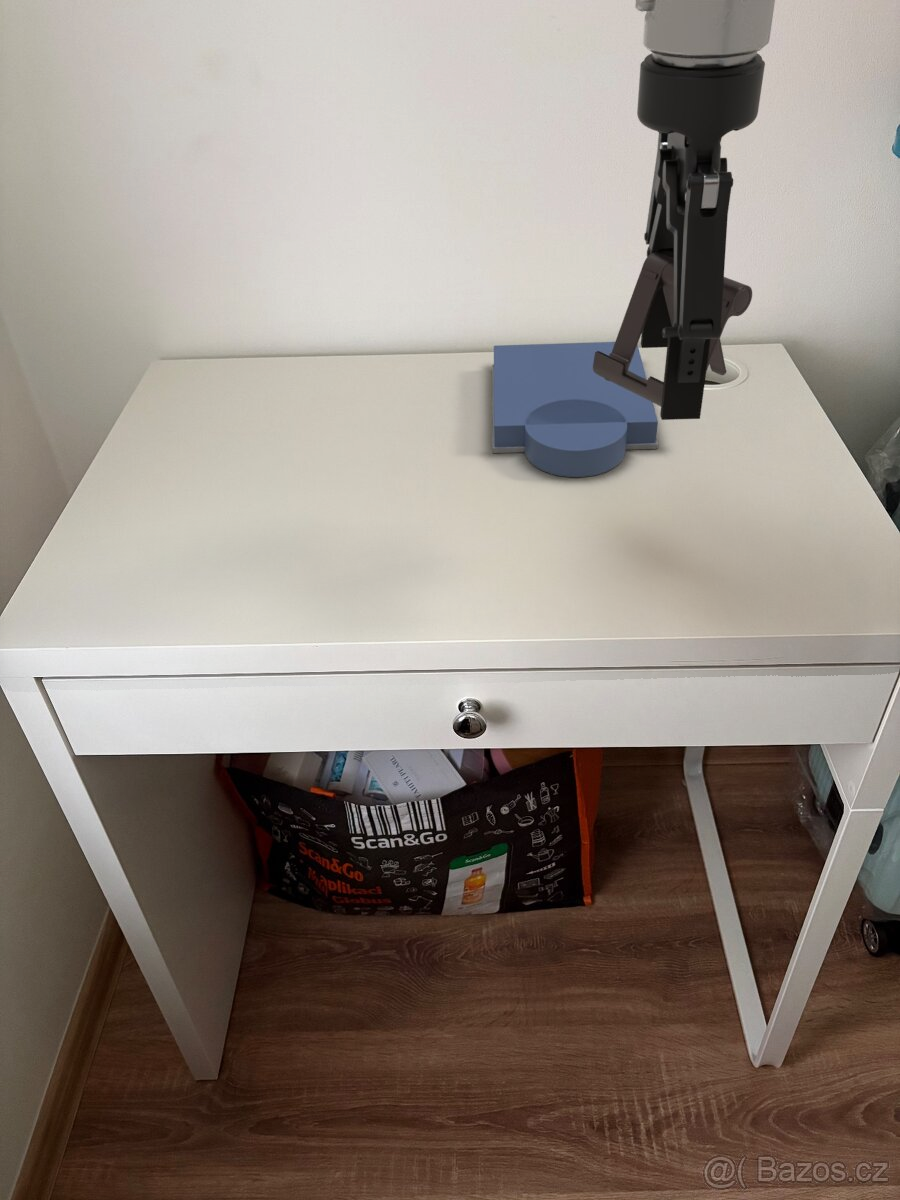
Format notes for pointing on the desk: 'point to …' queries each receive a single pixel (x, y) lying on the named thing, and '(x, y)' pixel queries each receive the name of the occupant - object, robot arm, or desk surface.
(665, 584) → the desk surface
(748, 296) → the tablet stand
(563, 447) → the blue square with disc
